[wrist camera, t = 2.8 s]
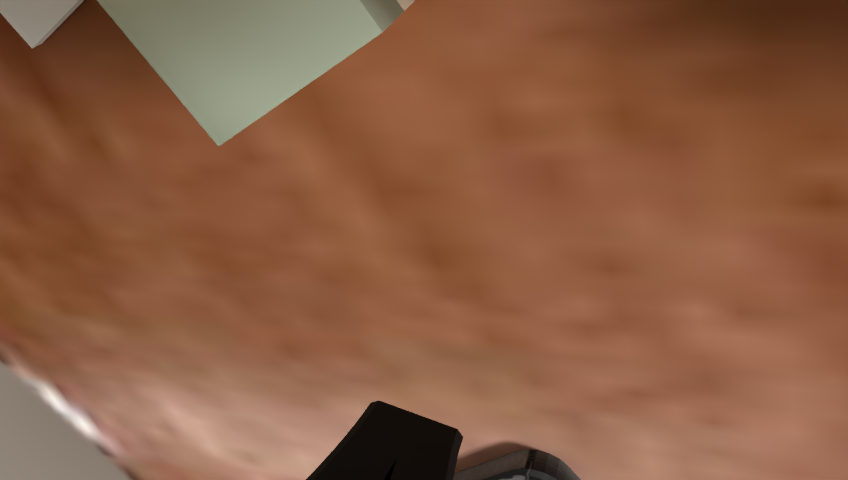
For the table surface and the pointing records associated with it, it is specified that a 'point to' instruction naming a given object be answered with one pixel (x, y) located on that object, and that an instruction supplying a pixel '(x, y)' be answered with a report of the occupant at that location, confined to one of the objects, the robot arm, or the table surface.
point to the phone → (520, 468)
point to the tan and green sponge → (246, 49)
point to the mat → (37, 17)
